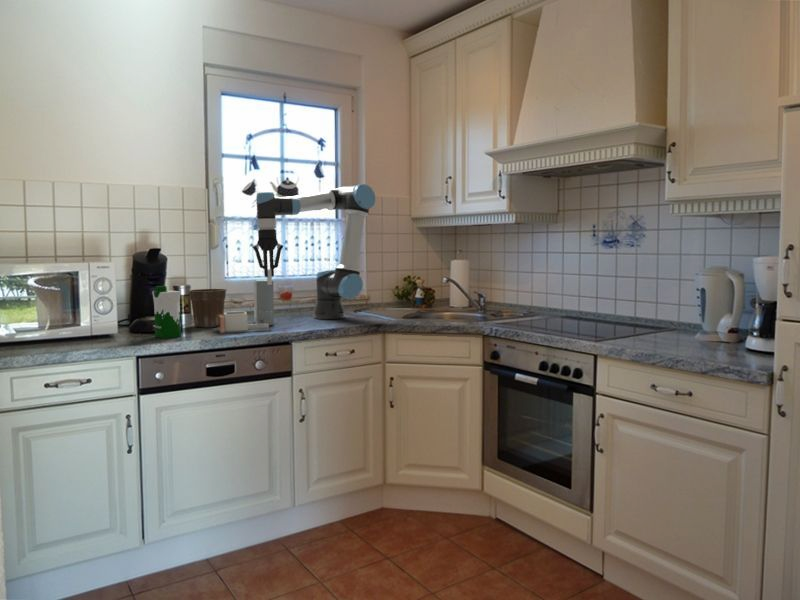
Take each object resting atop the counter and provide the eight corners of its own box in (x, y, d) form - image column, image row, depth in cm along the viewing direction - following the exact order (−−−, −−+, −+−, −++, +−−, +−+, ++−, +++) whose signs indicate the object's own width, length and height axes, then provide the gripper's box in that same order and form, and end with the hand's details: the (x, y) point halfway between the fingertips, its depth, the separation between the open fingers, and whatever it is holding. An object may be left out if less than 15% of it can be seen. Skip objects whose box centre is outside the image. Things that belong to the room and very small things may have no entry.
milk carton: (151, 337, 239) (149, 286, 237) (173, 334, 246) (171, 284, 244) (162, 339, 233) (160, 287, 231) (184, 336, 240) (182, 285, 238)
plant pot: (188, 324, 275) (187, 288, 274) (226, 322, 281) (224, 287, 279) (190, 329, 260) (189, 291, 258) (229, 327, 266) (228, 290, 264)
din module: (245, 328, 260) (245, 310, 259) (247, 330, 254) (247, 311, 253) (223, 329, 256) (223, 311, 256) (225, 331, 251) (224, 312, 250)
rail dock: (266, 327, 266) (266, 312, 265) (270, 331, 255) (270, 315, 254) (218, 329, 259) (218, 314, 258) (221, 333, 247) (220, 317, 247)
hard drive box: (274, 325, 272) (273, 280, 270) (256, 326, 270) (255, 281, 268) (270, 321, 287) (269, 278, 285) (254, 321, 284) (253, 279, 282)
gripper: (280, 228, 265) (283, 283, 267) (250, 229, 260) (252, 284, 263) (284, 228, 258) (286, 284, 260) (252, 229, 253) (255, 285, 256)
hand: (269, 284), depth 261 cm, fingers closed
